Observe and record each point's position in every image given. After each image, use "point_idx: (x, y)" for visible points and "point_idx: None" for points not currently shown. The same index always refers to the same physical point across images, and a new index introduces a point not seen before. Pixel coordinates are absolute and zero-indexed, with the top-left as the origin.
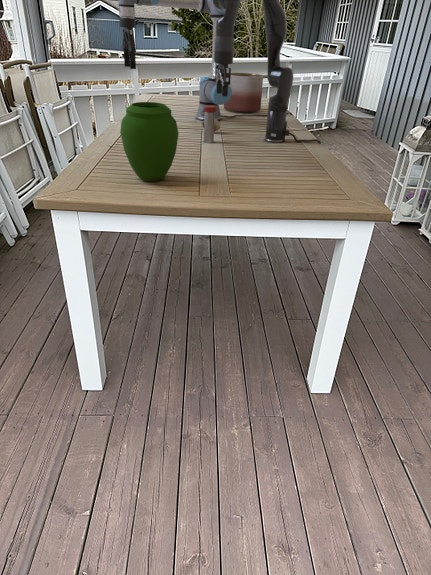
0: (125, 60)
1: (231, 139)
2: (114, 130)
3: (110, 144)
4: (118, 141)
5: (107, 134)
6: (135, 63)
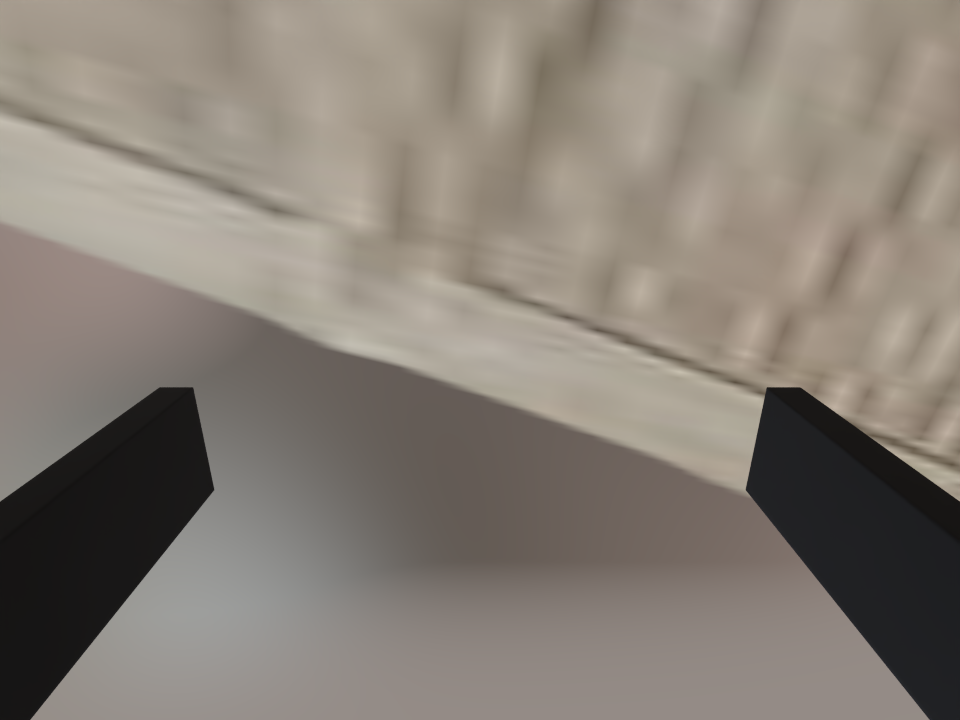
0: (143, 553)
1: None
2: (601, 401)
3: (938, 478)
4: (894, 430)
5: (700, 455)
6: (875, 447)
